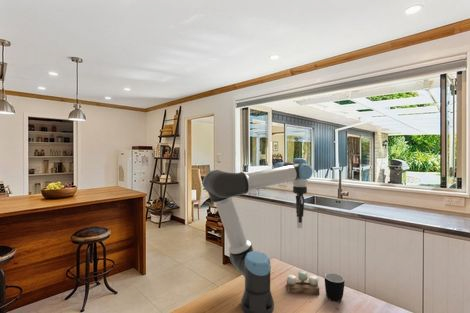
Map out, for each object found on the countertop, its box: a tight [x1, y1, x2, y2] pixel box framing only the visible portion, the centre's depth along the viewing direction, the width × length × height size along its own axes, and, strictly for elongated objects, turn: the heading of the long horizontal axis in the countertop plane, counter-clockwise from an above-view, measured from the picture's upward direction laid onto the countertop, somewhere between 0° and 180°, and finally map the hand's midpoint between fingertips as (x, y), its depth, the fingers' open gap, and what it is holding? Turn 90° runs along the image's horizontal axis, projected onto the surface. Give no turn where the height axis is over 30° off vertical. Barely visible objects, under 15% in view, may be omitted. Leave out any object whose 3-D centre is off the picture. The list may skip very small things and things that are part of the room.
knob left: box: [286, 274, 297, 285], centre depth 129 cm, size 4×4×5 cm
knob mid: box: [297, 270, 308, 284], centre depth 129 cm, size 4×4×5 cm
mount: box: [286, 278, 320, 295], centre depth 129 cm, size 15×8×3 cm, turn 86°
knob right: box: [308, 275, 319, 286], centre depth 128 cm, size 4×4×5 cm
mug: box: [324, 272, 345, 302], centre depth 123 cm, size 12×9×10 cm
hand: (299, 227), depth 140 cm, fingers closed
